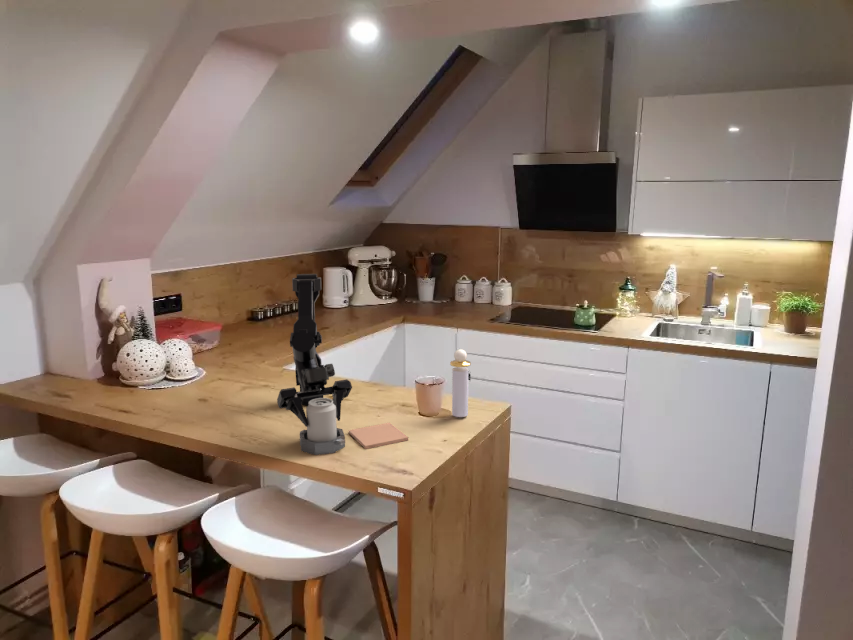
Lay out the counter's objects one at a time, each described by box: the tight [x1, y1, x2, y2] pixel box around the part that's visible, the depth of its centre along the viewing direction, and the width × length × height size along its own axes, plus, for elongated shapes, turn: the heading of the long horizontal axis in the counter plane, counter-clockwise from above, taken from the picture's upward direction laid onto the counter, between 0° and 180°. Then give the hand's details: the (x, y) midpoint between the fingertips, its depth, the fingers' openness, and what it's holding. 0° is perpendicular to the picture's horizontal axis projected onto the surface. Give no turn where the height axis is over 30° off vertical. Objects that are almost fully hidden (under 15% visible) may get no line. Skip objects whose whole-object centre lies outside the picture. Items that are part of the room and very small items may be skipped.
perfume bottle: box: [449, 348, 472, 418], centre depth 183 cm, size 6×6×20 cm
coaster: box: [348, 422, 409, 450], centre depth 171 cm, size 12×12×1 cm
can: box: [305, 397, 338, 442], centre depth 164 cm, size 8×8×12 cm
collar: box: [299, 427, 346, 456], centre depth 165 cm, size 13×11×3 cm
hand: (323, 423), depth 163 cm, fingers open, 8 cm apart
